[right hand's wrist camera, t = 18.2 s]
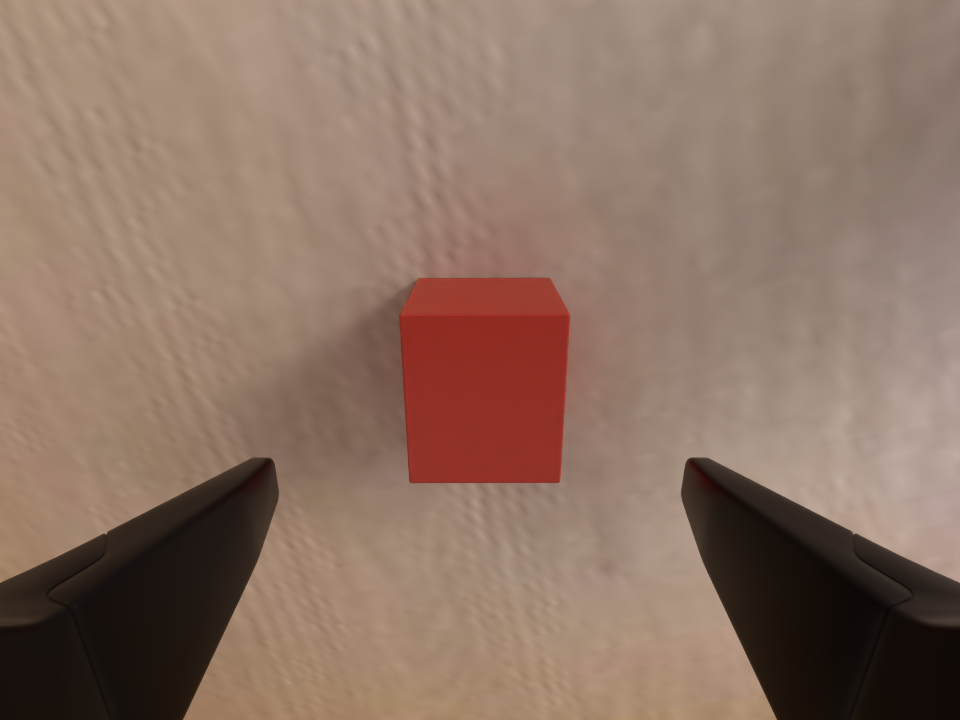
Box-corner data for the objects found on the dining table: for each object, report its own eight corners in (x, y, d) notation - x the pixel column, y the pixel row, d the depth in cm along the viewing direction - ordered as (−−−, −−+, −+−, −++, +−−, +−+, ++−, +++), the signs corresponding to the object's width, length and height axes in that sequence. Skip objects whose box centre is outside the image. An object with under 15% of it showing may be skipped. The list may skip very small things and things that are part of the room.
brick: (550, 277, 18) (570, 313, 14) (544, 415, 19) (560, 483, 15) (417, 277, 18) (399, 314, 14) (424, 416, 19) (409, 483, 15)
